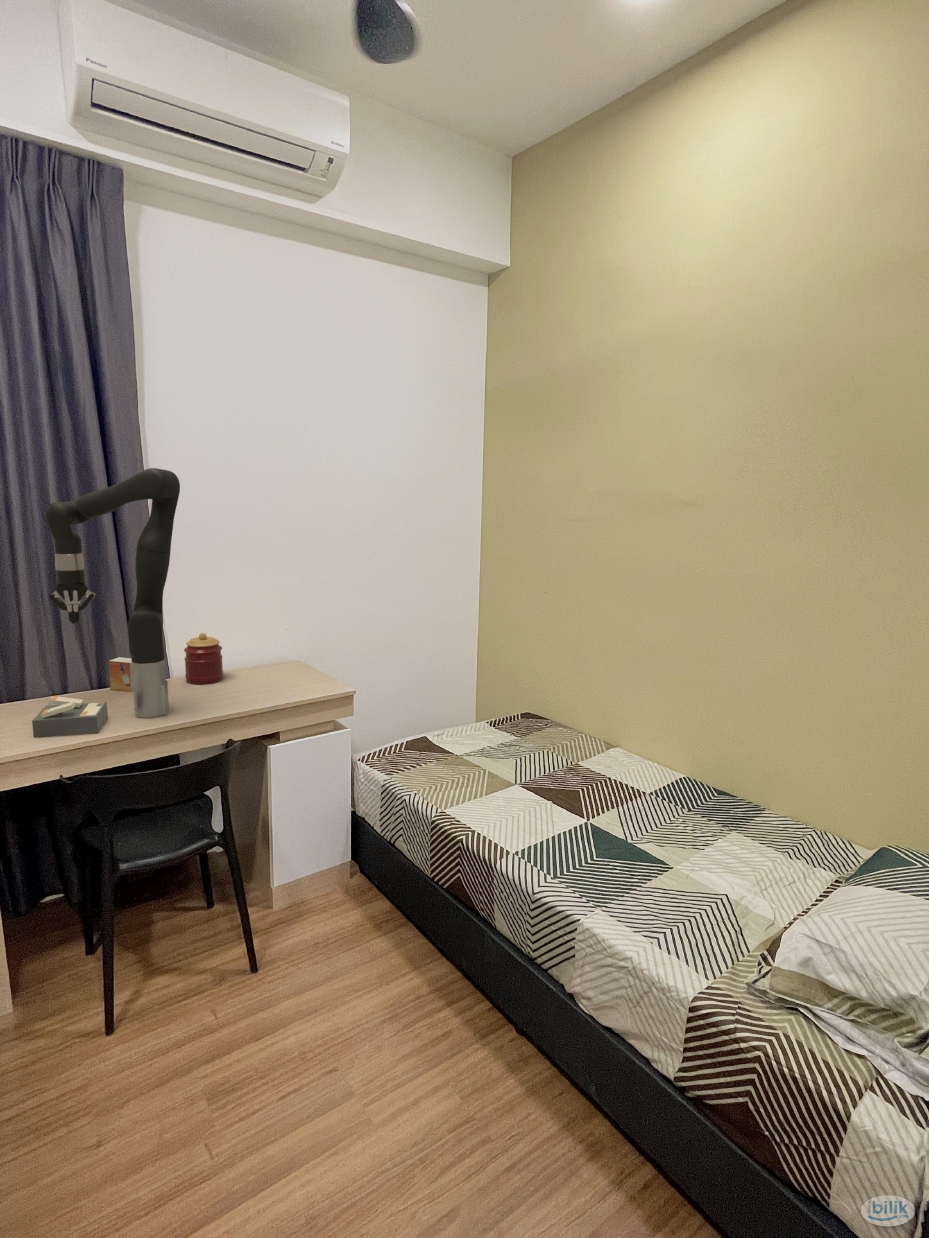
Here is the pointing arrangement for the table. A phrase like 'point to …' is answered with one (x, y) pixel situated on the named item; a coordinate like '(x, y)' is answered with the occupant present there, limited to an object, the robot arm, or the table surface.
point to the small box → (121, 674)
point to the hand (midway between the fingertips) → (74, 623)
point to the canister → (203, 660)
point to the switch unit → (71, 721)
